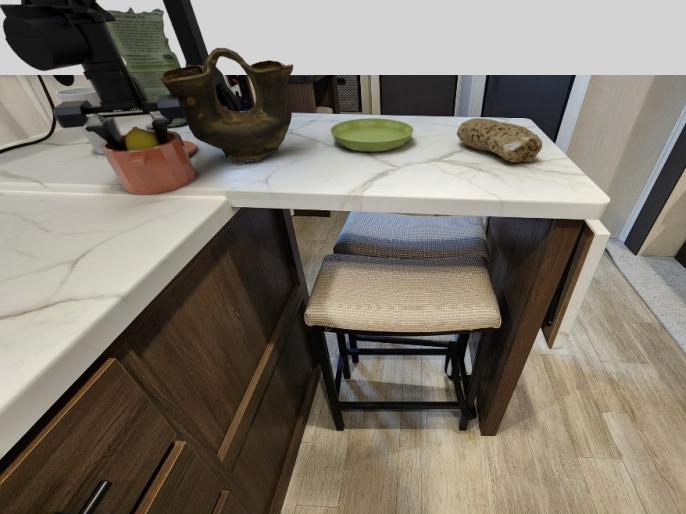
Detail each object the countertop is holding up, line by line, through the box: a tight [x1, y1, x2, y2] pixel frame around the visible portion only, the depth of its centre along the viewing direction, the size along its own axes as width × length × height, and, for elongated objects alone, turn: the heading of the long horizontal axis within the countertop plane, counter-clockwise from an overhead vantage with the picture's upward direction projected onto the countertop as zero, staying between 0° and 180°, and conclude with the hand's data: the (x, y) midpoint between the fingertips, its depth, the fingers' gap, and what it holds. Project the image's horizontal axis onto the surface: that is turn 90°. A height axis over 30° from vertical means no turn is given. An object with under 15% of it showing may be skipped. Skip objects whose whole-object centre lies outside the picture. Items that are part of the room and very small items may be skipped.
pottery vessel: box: [159, 47, 294, 164], centre depth 69 cm, size 25×11×20 cm, turn 116°
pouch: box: [105, 6, 187, 127], centre depth 86 cm, size 11×12×25 cm
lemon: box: [125, 126, 160, 151], centre depth 61 cm, size 6×6×8 cm
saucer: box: [330, 117, 415, 153], centre depth 83 cm, size 21×21×3 cm
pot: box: [99, 130, 197, 195], centre depth 63 cm, size 13×18×8 cm
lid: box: [145, 123, 197, 156], centre depth 74 cm, size 14×14×6 cm
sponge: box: [456, 117, 543, 163], centre depth 77 cm, size 13×8×20 cm
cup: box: [55, 86, 123, 155], centre depth 74 cm, size 8×8×12 cm
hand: (151, 160), depth 63 cm, fingers closed on lemon, 5 cm apart
